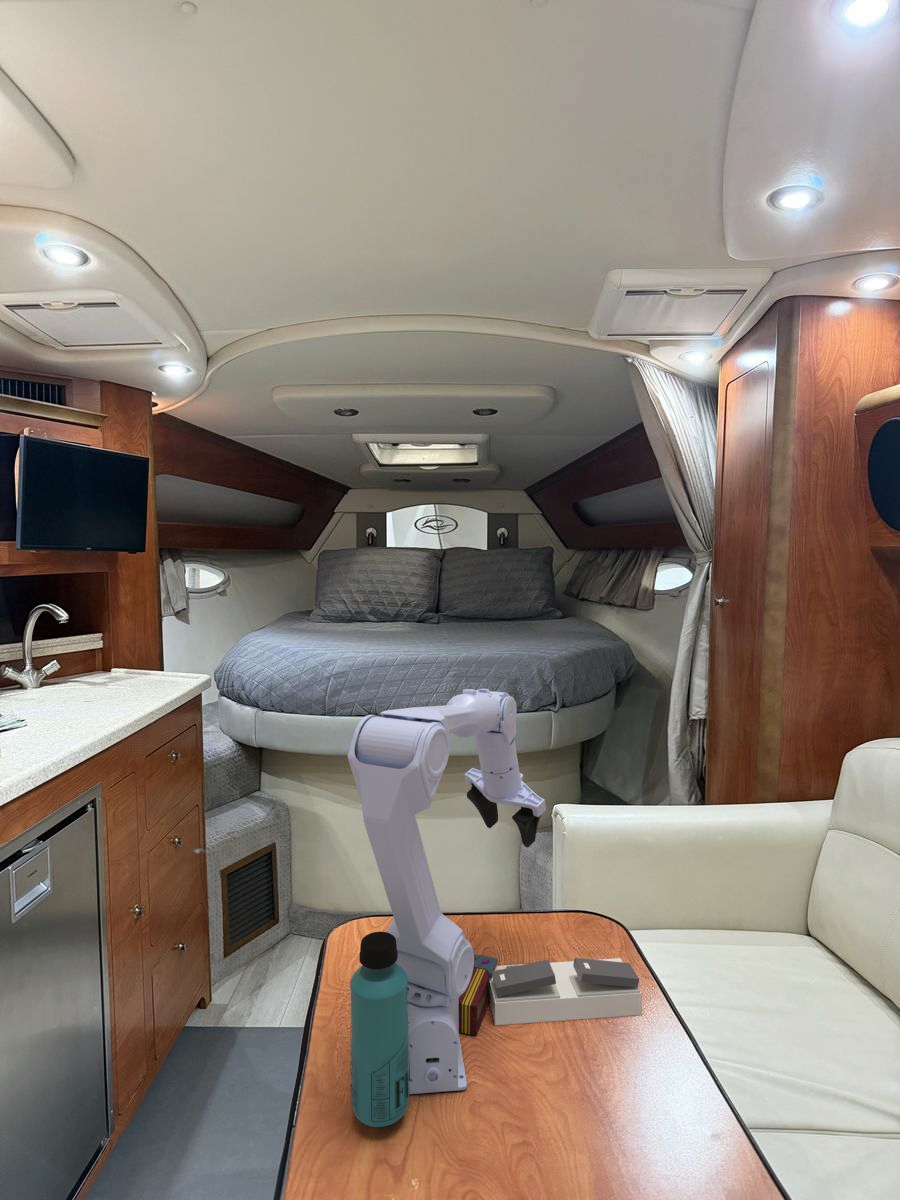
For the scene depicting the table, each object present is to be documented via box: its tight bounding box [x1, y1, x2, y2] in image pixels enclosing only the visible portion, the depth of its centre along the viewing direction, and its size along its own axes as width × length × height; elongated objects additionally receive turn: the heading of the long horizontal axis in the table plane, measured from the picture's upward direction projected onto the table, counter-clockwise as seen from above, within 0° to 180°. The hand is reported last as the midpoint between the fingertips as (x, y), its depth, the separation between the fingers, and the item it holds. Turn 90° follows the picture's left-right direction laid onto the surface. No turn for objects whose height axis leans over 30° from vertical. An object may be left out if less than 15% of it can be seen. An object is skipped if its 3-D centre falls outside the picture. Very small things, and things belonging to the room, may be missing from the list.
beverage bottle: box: [349, 931, 411, 1128], centre depth 71 cm, size 6×7×20 cm
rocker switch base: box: [488, 957, 643, 1026], centre depth 91 cm, size 8×20×3 cm, turn 96°
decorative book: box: [459, 953, 499, 1037], centre depth 91 cm, size 11×16×5 cm
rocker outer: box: [573, 957, 640, 988], centre depth 89 cm, size 4×8×1 cm, turn 96°
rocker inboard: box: [492, 958, 556, 997], centre depth 88 cm, size 4×8×1 cm, turn 96°
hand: (510, 833), depth 103 cm, fingers open, 7 cm apart
